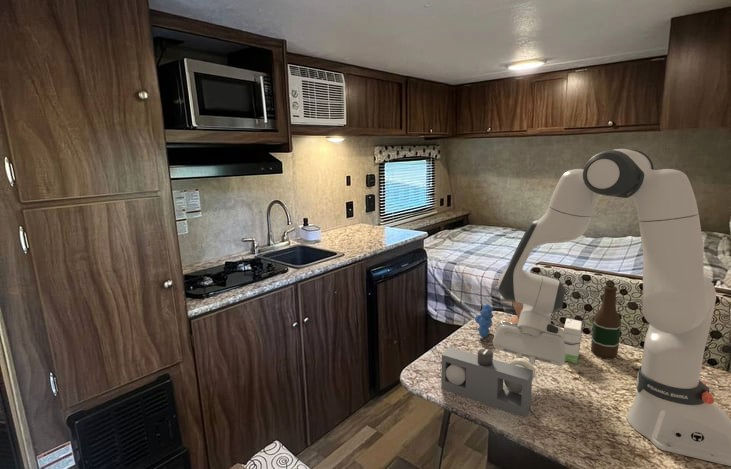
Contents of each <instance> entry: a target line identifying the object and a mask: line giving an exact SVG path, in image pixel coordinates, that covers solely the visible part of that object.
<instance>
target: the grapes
mask: <svg viewBox="0 0 731 469" xmlns="http://www.w3.org/2000/svg"><path fill="white" fill-rule="evenodd" d="M492 312H494V309H493V306H492V305H490V304H489V303H487V304H485V305H484V306H482V309H481V311H480V314H478V315H476V316H475V317H474V321H475V323H477V324H478V327H477V330H478V333H479V336H480V337H481V338H482V339H484V338H486V337H487V336H488V335H489V334H490V333H491V331H490V328H491V327H492V326H493V321H492V319H493V318H494V315H493V313H492Z"/></svg>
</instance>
